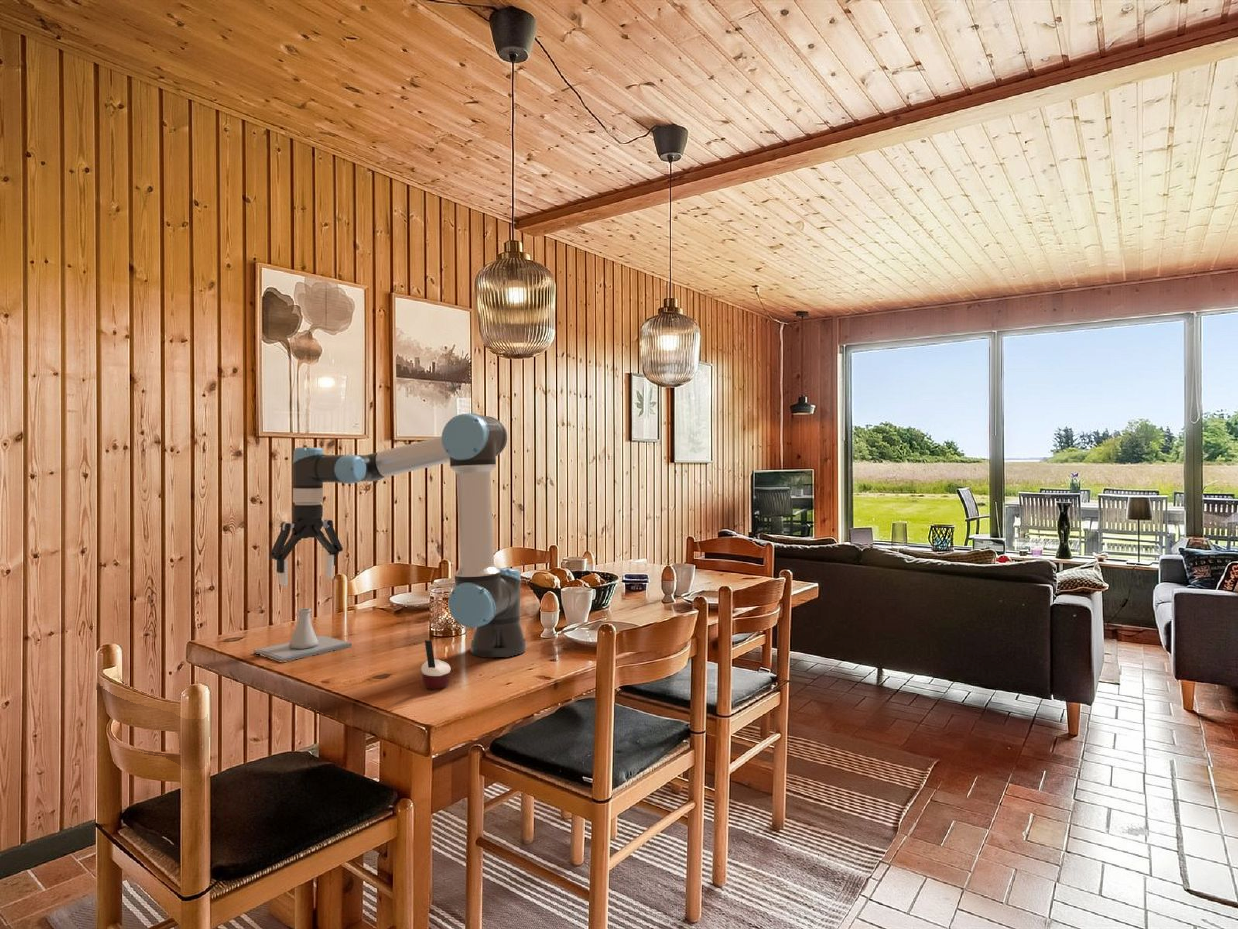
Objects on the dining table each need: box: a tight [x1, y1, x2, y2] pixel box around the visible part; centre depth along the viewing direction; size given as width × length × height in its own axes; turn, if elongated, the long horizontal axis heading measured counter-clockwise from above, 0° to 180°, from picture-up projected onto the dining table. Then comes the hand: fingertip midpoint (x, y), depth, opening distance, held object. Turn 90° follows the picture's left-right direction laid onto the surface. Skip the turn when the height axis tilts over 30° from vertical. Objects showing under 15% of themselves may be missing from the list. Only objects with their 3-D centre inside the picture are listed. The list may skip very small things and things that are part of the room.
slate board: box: [253, 634, 352, 662], centre depth 192 cm, size 14×20×1 cm
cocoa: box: [420, 639, 452, 690], centre depth 163 cm, size 10×6×12 cm, turn 149°
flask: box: [289, 608, 319, 649], centre depth 192 cm, size 7×7×10 cm
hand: (307, 581), depth 192 cm, fingers open, 13 cm apart
